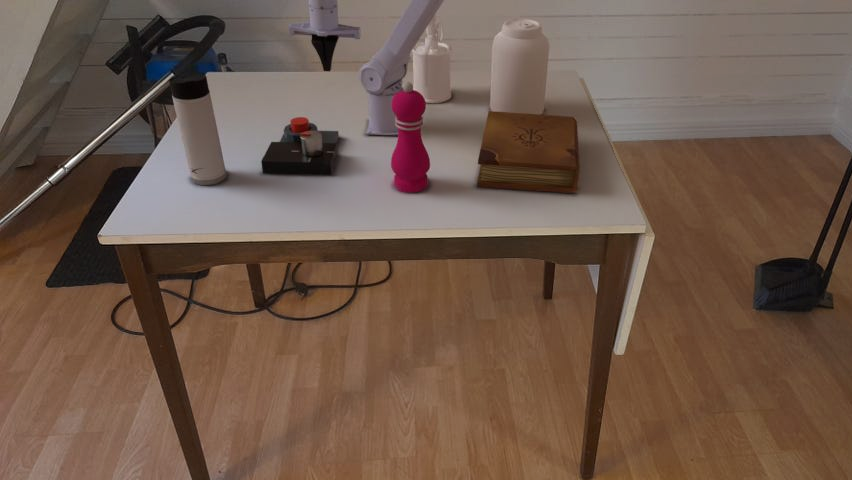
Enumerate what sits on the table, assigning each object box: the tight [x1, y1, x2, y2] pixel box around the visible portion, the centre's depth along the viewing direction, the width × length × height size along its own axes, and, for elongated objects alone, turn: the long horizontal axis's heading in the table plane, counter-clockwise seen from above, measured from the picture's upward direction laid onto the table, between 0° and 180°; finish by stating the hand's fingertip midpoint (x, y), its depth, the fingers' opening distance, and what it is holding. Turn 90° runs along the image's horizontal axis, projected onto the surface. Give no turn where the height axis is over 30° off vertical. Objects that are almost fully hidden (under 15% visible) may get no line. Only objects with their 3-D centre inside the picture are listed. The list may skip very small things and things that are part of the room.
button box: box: [279, 122, 340, 144], centre depth 145 cm, size 11×7×4 cm, turn 91°
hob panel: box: [260, 141, 339, 176], centre depth 138 cm, size 13×8×3 cm, turn 91°
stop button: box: [290, 116, 310, 133], centre depth 143 cm, size 4×4×2 cm
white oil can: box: [411, 14, 453, 104], centre depth 162 cm, size 10×9×20 cm
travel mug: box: [168, 73, 227, 186], centre depth 127 cm, size 6×7×20 cm
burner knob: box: [300, 130, 323, 157], centre depth 136 cm, size 4×4×4 cm
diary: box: [476, 110, 580, 194], centre depth 140 cm, size 23×19×6 cm
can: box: [489, 18, 550, 115], centre depth 157 cm, size 12×12×20 cm
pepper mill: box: [390, 81, 431, 194], centre depth 127 cm, size 7×7×20 cm
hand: (327, 69), depth 152 cm, fingers closed
